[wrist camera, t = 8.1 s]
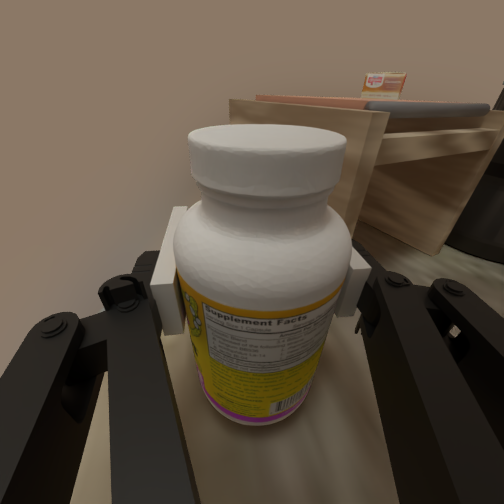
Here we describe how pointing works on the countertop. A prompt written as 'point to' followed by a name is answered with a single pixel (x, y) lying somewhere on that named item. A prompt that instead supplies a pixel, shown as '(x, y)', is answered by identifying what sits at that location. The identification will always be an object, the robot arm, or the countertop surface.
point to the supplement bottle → (261, 263)
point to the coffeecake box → (383, 85)
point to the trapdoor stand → (396, 165)
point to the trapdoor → (389, 106)
